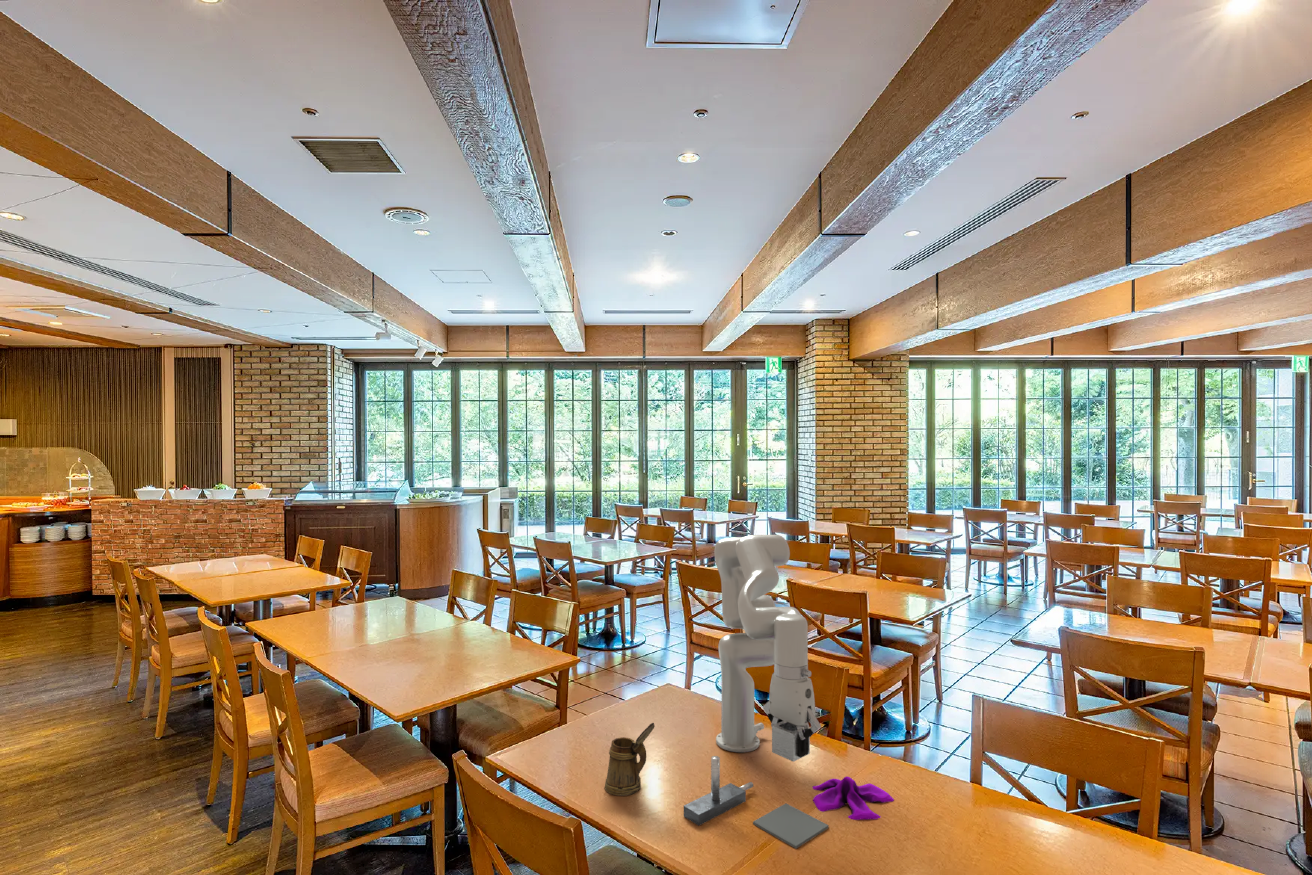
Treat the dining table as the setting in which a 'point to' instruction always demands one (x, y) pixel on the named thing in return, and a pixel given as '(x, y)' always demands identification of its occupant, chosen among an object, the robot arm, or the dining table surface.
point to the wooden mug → (626, 764)
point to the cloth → (850, 797)
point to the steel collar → (786, 740)
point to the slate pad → (791, 825)
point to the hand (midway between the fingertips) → (791, 749)
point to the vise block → (715, 798)
